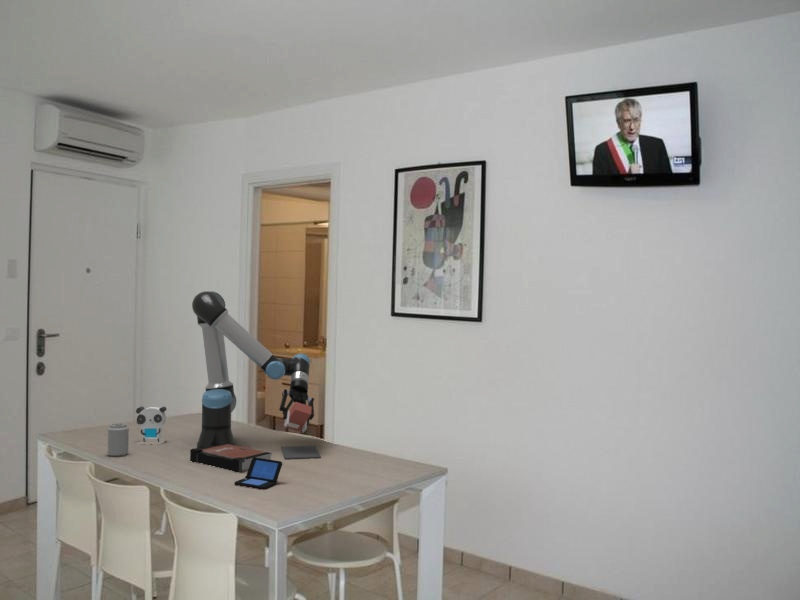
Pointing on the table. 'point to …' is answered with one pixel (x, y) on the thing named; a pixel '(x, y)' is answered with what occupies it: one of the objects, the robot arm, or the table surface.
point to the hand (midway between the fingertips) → (295, 427)
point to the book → (227, 456)
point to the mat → (300, 452)
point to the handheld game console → (261, 474)
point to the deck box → (298, 416)
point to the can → (118, 439)
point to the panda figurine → (151, 422)
